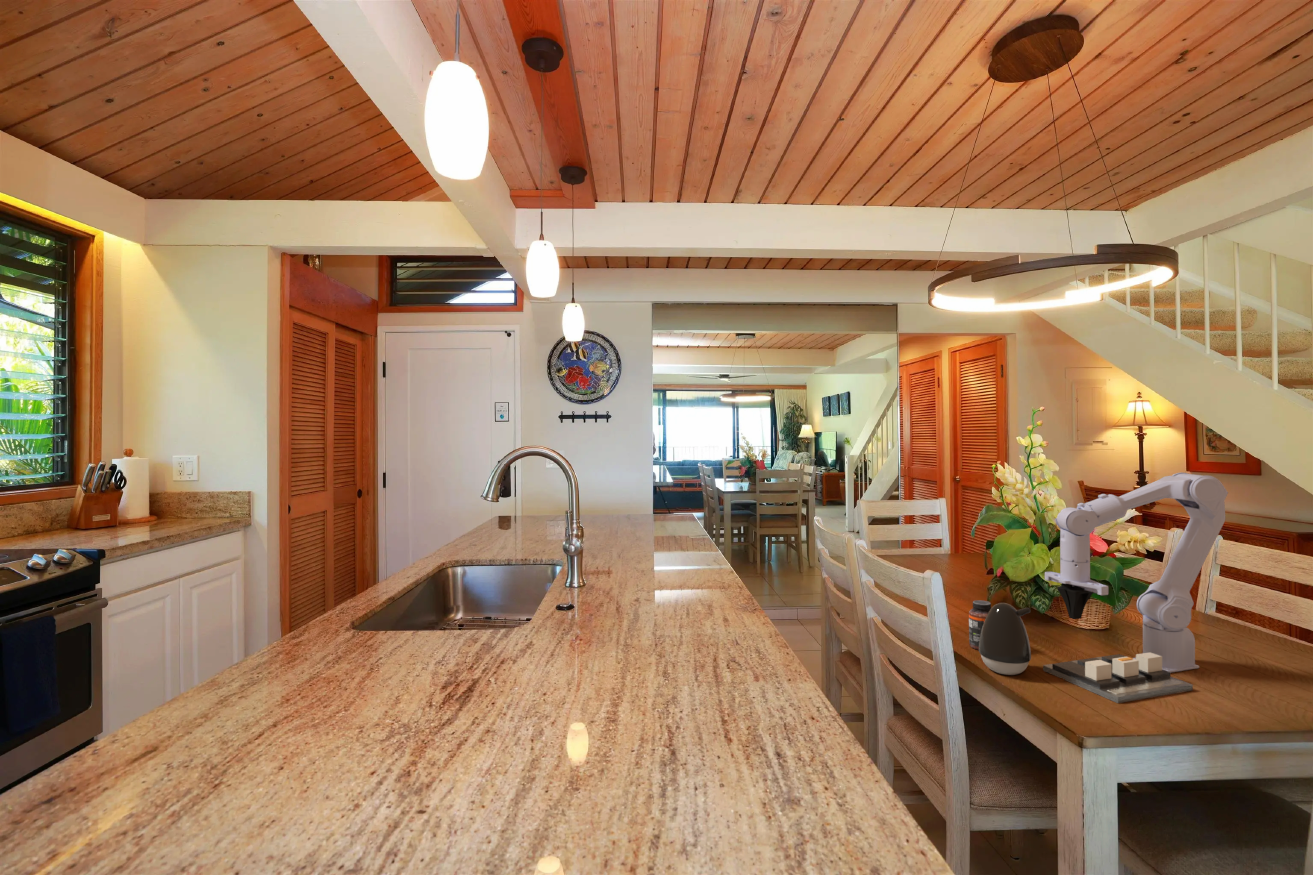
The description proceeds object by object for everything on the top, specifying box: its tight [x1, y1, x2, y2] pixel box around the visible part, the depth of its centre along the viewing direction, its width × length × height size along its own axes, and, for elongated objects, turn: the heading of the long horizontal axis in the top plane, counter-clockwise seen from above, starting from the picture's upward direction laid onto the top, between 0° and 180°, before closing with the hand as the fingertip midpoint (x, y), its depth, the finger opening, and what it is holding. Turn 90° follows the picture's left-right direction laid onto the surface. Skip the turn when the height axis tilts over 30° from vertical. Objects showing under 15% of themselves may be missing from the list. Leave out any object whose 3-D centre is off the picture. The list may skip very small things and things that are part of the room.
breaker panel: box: [1042, 653, 1194, 704], centre depth 132 cm, size 20×17×2 cm
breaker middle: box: [1112, 656, 1139, 677], centre depth 130 cm, size 4×2×3 cm, turn 105°
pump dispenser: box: [978, 602, 1032, 676], centre depth 138 cm, size 10×10×15 cm
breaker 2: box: [1135, 652, 1162, 673], centre depth 132 cm, size 4×2×3 cm, turn 105°
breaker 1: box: [1085, 660, 1111, 681], centre depth 129 cm, size 4×2×3 cm, turn 105°
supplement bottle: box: [968, 599, 992, 651], centre depth 152 cm, size 6×6×11 cm
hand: (1075, 617), depth 143 cm, fingers closed
